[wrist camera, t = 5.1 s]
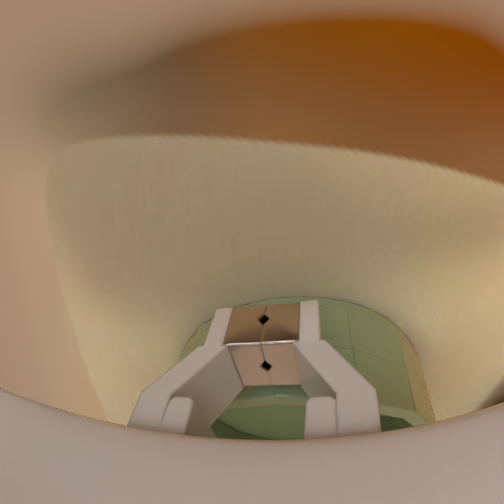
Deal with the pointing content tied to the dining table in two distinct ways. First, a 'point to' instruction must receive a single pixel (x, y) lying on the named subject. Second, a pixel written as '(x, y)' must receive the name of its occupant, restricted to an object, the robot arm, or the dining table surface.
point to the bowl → (356, 353)
